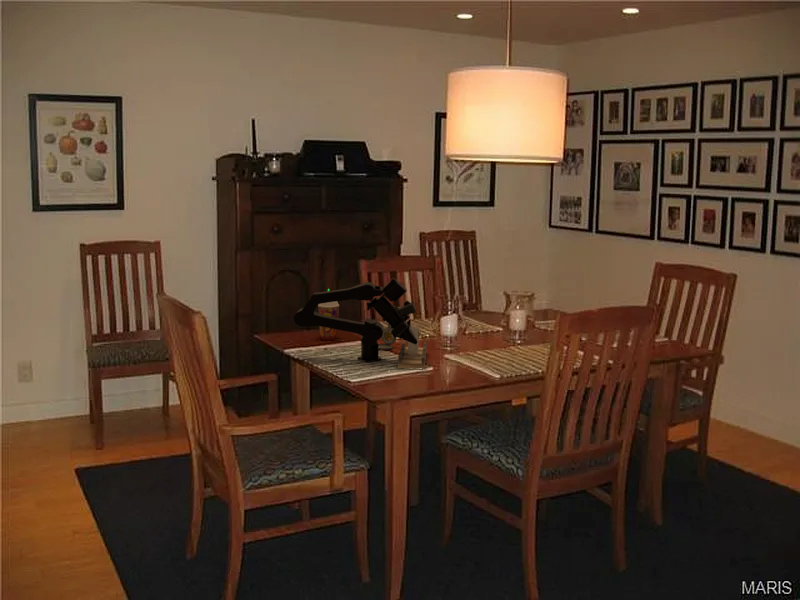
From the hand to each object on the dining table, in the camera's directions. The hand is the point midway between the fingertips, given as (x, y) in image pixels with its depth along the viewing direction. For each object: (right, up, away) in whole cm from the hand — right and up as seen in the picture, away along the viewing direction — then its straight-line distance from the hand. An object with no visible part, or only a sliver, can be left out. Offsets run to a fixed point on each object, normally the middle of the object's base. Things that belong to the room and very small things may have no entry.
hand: (417, 341), depth 308 cm
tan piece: (-1, -7, +1) cm, 7 cm away
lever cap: (-1, -5, +1) cm, 5 cm away
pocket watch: (-12, -4, +20) cm, 23 cm away
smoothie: (-34, -1, +34) cm, 48 cm away
